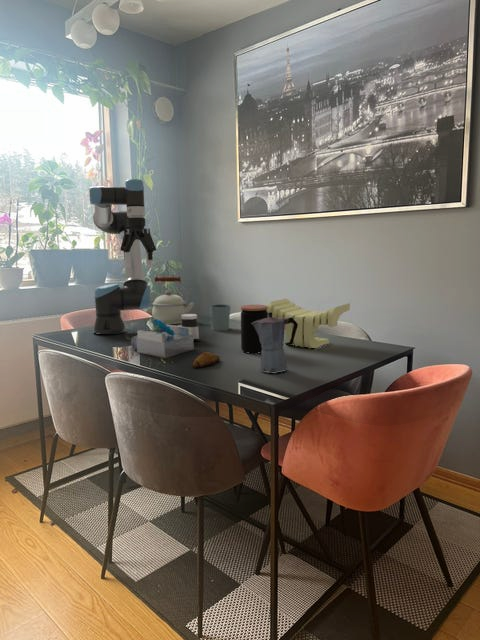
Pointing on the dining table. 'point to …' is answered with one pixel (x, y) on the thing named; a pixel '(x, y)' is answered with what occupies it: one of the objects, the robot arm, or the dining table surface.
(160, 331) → the blue irregular piece
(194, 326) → the spread jar
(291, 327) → the beige slatted piece
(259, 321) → the moka pot
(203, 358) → the croissant
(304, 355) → the dining table surface
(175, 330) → the storage box
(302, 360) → the dining table surface
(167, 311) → the kettle
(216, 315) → the teal tumbler cup
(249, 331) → the coffee jar
